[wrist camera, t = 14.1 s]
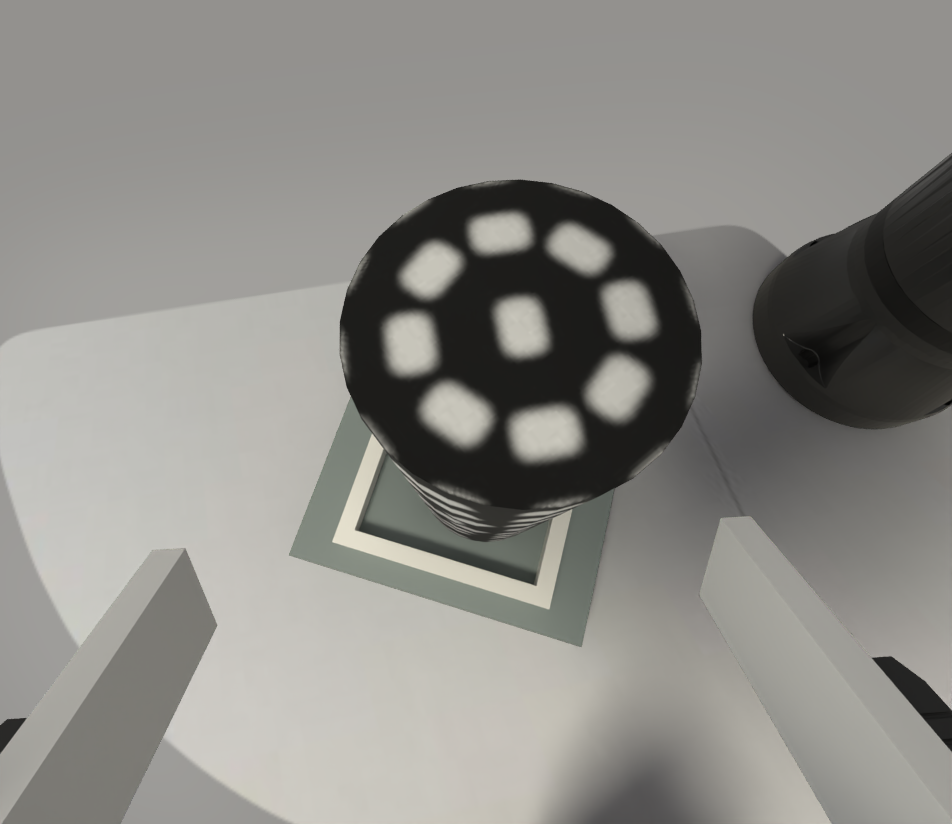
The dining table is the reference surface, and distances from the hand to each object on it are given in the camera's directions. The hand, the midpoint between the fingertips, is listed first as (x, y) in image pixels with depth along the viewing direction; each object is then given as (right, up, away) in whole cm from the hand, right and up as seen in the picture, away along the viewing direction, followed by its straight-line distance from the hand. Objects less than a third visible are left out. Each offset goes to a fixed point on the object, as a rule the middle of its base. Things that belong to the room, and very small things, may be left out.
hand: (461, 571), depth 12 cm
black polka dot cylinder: (+1, 0, +18) cm, 18 cm away
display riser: (0, -1, +21) cm, 21 cm away
